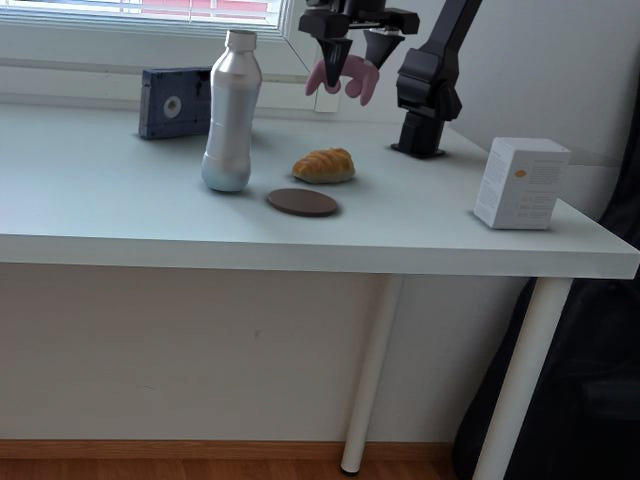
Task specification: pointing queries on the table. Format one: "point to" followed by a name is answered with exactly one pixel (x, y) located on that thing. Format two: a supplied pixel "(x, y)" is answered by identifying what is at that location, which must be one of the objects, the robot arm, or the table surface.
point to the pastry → (325, 166)
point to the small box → (521, 183)
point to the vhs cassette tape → (175, 102)
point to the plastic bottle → (232, 113)
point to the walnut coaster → (302, 202)
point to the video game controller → (355, 68)
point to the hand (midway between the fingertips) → (348, 85)
